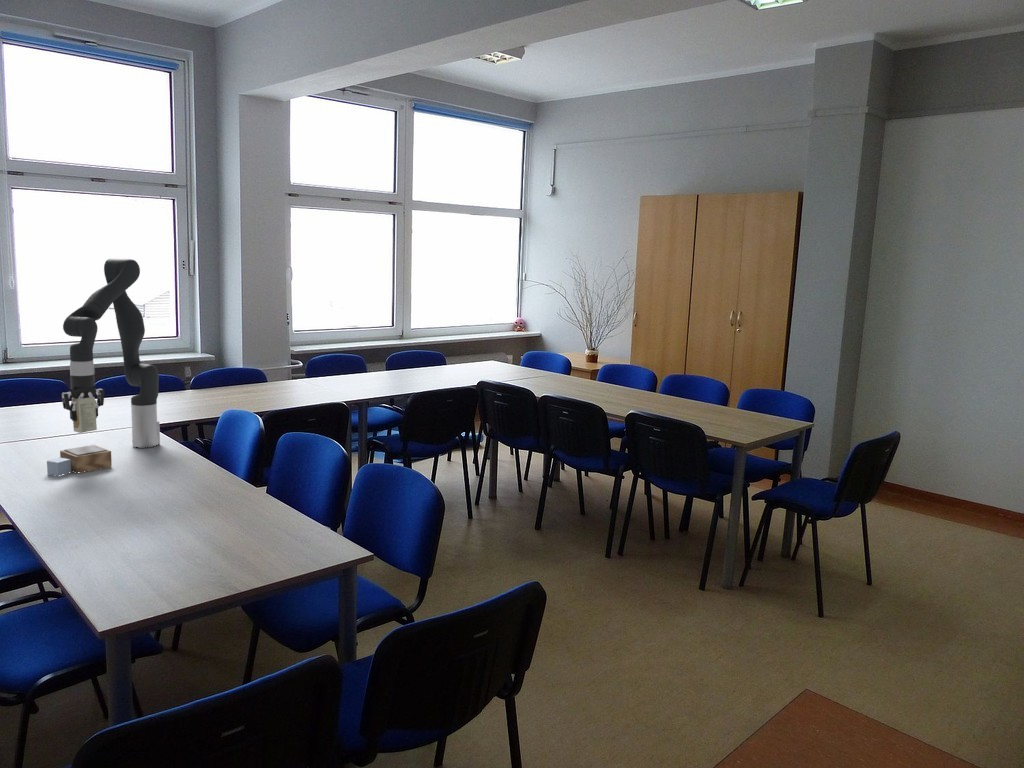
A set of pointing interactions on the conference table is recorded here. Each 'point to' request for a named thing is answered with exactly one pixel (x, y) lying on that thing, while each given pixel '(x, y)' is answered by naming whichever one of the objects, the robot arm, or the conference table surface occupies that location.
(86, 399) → the skincare box
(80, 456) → the walnut base
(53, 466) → the slate cube
